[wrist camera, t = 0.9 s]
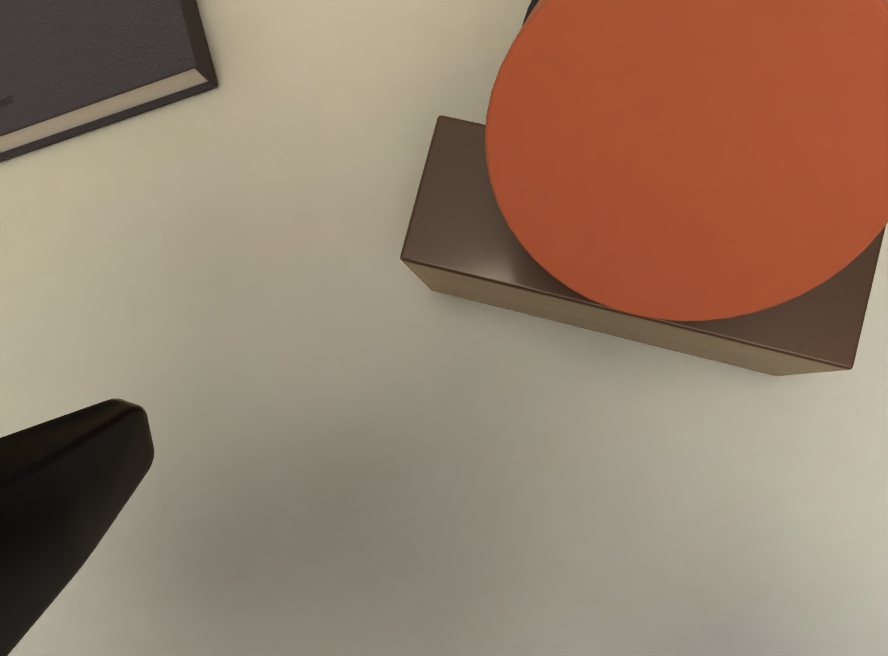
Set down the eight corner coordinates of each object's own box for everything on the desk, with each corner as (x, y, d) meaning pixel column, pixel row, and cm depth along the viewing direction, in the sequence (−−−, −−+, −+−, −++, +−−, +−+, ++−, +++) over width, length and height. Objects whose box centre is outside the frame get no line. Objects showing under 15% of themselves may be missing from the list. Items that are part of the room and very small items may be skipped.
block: (778, 376, 21) (853, 370, 16) (429, 290, 22) (398, 259, 17) (807, 254, 21) (890, 210, 16) (460, 176, 22) (437, 113, 17)
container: (702, 373, 21) (949, 339, 8) (492, 320, 21) (430, 217, 9) (807, -57, 21) (1178, -681, 9) (600, -91, 22) (678, -708, 10)
